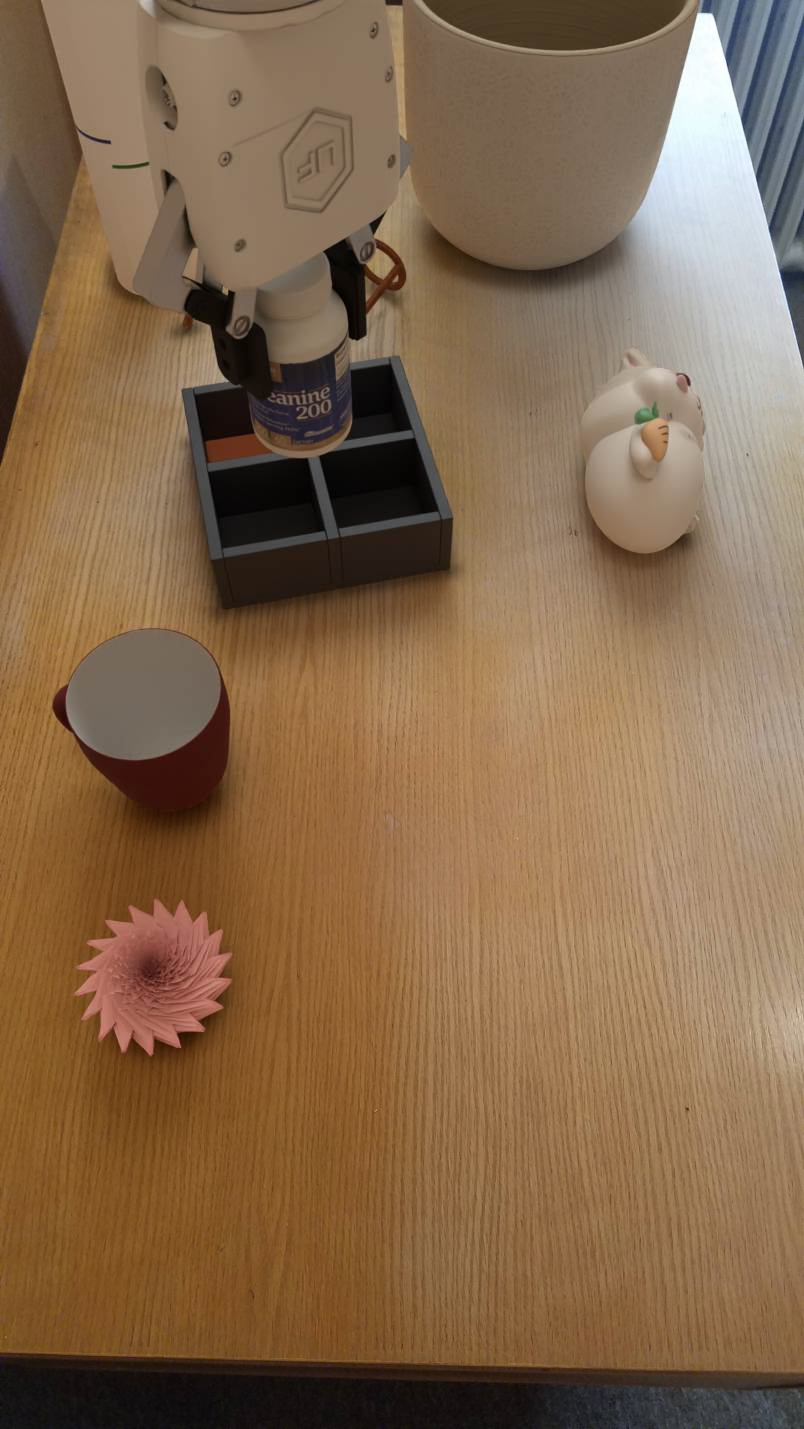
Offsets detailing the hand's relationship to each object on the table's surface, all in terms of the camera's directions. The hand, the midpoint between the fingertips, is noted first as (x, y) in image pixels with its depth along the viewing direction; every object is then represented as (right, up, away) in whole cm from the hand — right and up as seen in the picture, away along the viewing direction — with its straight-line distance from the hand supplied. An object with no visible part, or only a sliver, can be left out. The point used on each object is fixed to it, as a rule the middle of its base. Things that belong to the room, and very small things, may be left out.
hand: (295, 351), depth 51 cm
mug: (-9, -22, +10) cm, 26 cm away
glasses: (-3, +14, +31) cm, 34 cm away
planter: (+16, +24, +37) cm, 47 cm away
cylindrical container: (-15, +19, +34) cm, 41 cm away
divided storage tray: (-1, -3, +21) cm, 21 cm away
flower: (-7, -33, +4) cm, 34 cm away
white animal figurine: (+22, -2, +22) cm, 31 cm away
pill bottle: (0, -3, +4) cm, 5 cm away
